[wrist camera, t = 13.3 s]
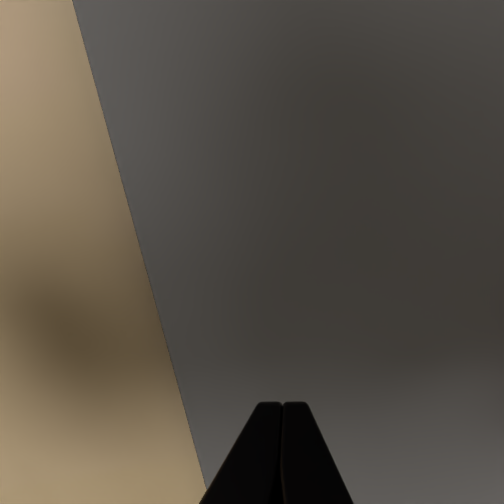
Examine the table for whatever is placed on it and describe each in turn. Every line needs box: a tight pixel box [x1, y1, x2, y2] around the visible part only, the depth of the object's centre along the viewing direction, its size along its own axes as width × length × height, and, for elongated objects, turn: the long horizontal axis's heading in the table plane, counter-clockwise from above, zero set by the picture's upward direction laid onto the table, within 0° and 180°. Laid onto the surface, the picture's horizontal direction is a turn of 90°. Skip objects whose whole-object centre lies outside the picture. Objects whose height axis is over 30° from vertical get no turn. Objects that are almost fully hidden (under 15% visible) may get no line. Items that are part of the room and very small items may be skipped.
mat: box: [72, 0, 504, 504], centre depth 10 cm, size 22×14×1 cm, turn 6°
